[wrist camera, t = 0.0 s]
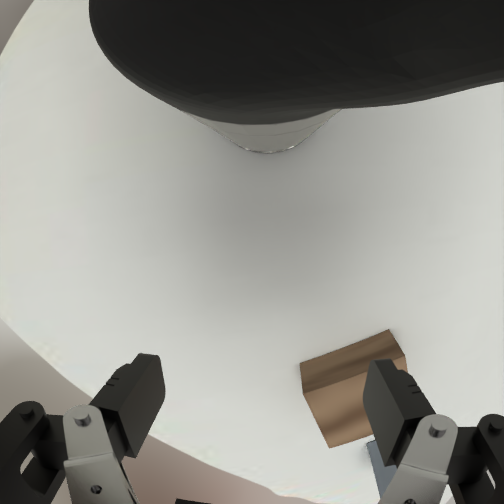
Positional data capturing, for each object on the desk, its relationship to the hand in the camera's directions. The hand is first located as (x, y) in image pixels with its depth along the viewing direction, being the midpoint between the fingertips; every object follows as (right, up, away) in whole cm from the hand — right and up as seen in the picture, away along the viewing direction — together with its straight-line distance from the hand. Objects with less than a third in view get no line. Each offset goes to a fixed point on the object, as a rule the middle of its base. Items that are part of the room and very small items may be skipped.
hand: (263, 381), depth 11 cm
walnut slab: (+11, -9, +20) cm, 25 cm away
